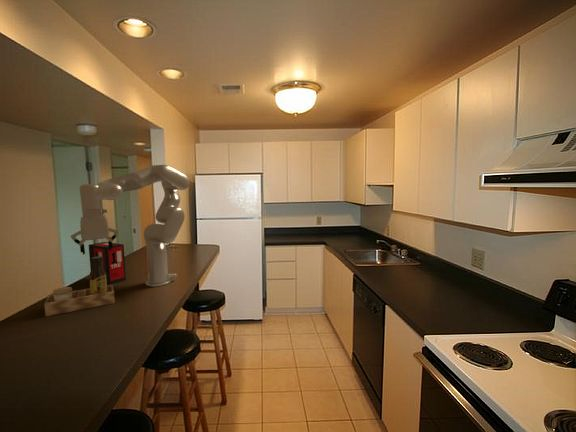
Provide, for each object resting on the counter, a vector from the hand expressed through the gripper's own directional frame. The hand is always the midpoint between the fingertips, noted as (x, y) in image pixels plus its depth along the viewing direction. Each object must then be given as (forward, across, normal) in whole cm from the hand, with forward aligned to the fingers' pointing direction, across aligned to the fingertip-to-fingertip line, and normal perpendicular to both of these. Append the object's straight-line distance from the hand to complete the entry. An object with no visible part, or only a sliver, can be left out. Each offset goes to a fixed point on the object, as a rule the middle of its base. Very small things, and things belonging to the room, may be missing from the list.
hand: (97, 252), depth 129 cm
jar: (+22, +14, +1) cm, 26 cm away
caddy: (+23, +7, +1) cm, 24 cm away
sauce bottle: (+22, +1, 0) cm, 22 cm away
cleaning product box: (+24, -4, -34) cm, 42 cm away
